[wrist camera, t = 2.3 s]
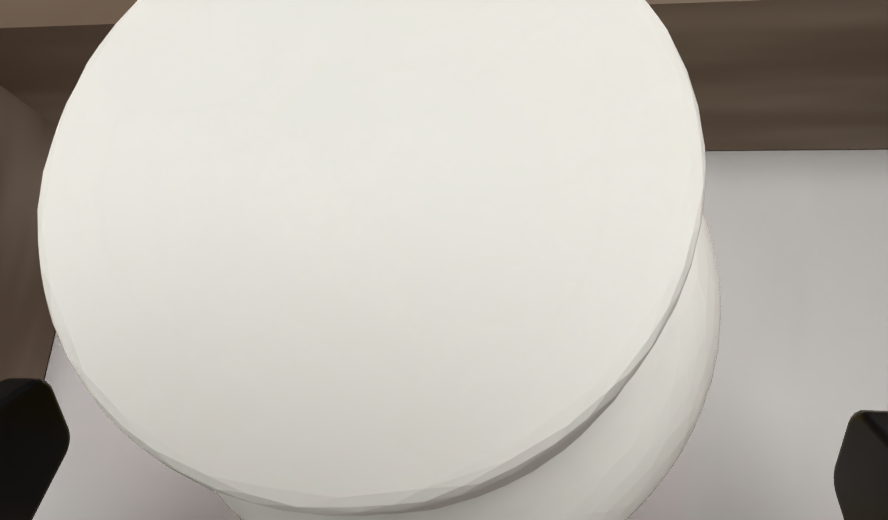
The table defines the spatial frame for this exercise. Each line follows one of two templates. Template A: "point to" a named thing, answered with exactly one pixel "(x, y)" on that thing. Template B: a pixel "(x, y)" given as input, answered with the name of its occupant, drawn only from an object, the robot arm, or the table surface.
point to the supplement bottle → (389, 253)
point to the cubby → (675, 3)
